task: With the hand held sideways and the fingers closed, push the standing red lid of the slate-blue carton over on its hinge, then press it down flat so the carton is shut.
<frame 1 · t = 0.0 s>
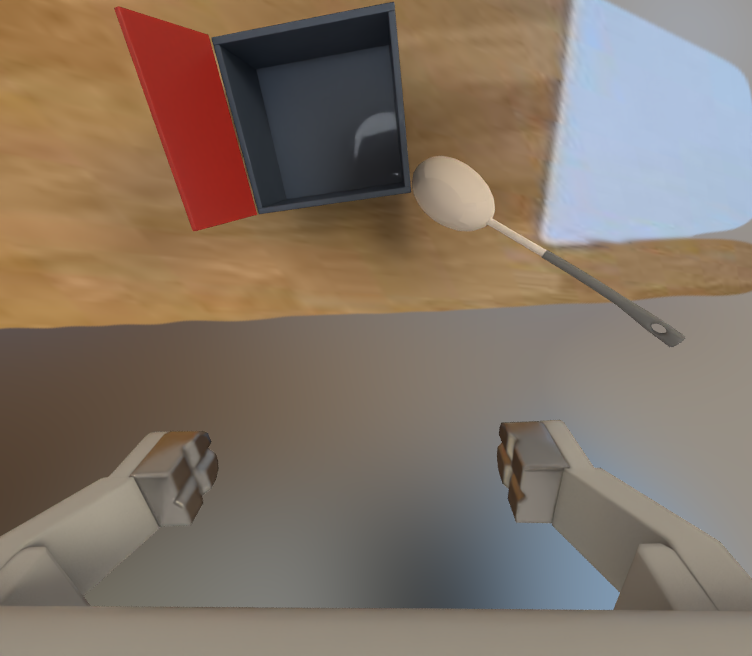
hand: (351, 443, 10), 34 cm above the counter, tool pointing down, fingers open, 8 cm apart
beige and grey spoon: (529, 258, 31), point 10 cm above the counter
lid: (200, 133, 26), point 12 cm above the counter, hinge at 110.0°
carton: (333, 129, 36), on the counter
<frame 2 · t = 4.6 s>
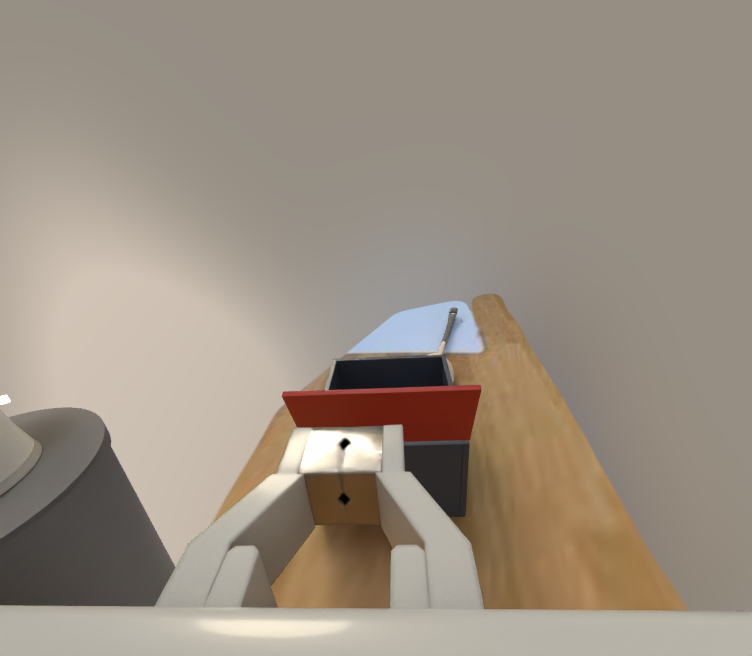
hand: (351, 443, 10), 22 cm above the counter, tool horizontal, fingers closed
beige and grey spoon: (442, 332, 56), point 3 cm above the counter
lid: (383, 417, 25), point 12 cm above the counter, hinge at 110.0°
carton: (392, 457, 38), on the counter
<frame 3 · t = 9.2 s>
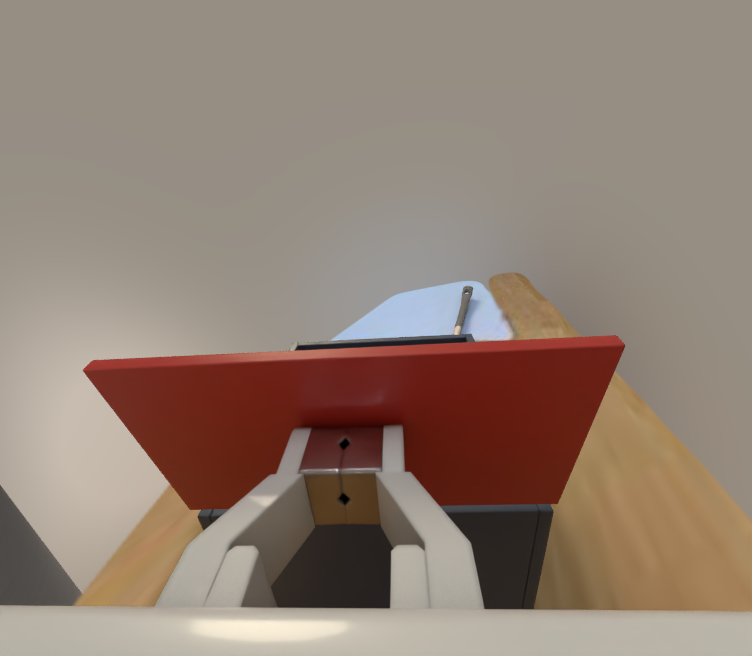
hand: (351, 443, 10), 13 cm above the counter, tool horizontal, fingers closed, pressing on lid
beige and grey spoon: (457, 312, 41), point 3 cm above the counter
lid: (356, 441, 10), point 13 cm above the counter, hinge at 100.2°, touching gripper
carton: (386, 504, 23), on the counter
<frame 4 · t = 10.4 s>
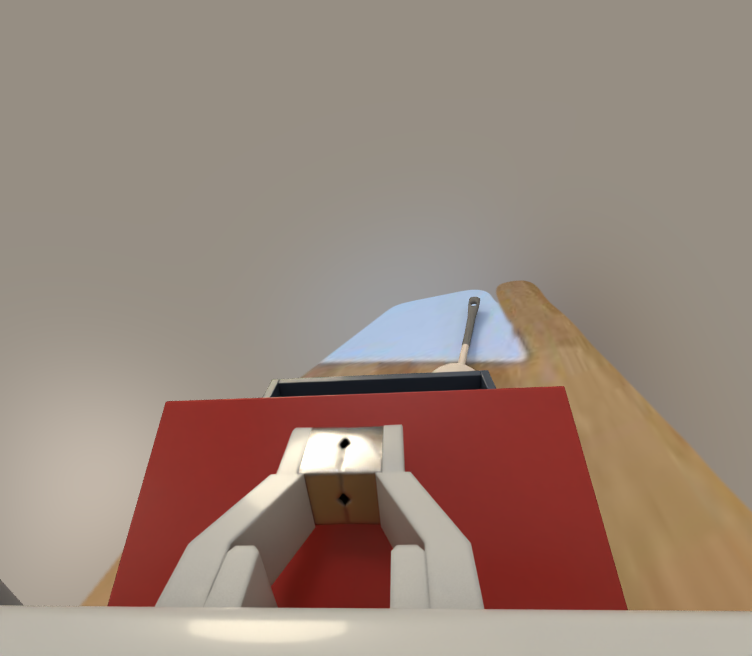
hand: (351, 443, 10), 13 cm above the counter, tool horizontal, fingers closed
beige and grey spoon: (465, 330, 37), point 3 cm above the counter
lid: (356, 514, 10), point 11 cm above the counter, hinge at 35.7°, touching gripper
carton: (384, 585, 18), on the counter
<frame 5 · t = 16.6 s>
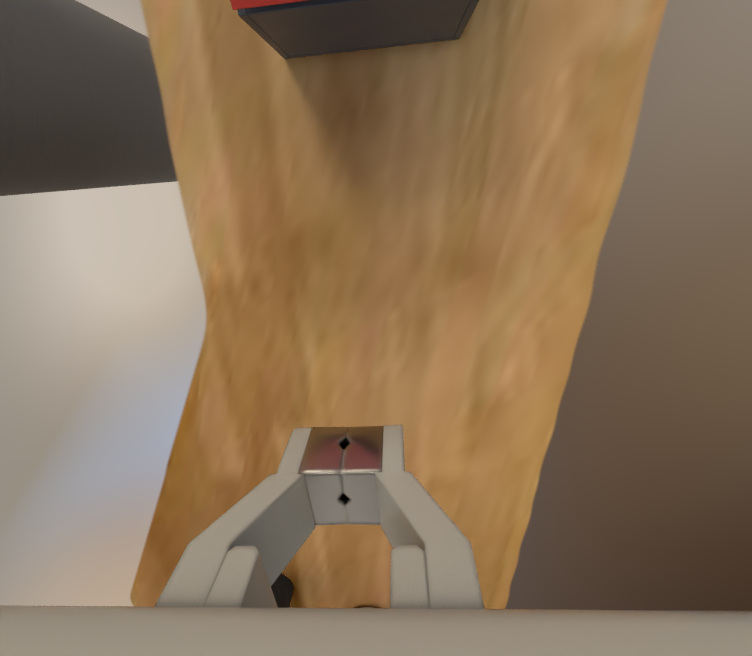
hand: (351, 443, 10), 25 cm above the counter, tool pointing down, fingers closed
travel mug: (271, 583, 56), on the counter
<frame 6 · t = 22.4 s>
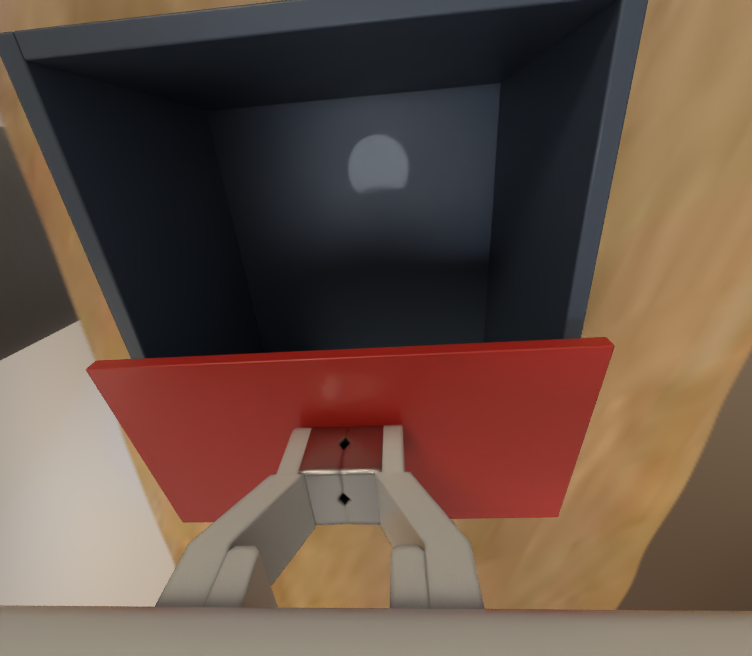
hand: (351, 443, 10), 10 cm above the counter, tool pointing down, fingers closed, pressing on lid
lid: (353, 447, 10), point 9 cm above the counter, hinge at 5.5°, touching gripper
carton: (364, 253, 17), on the counter
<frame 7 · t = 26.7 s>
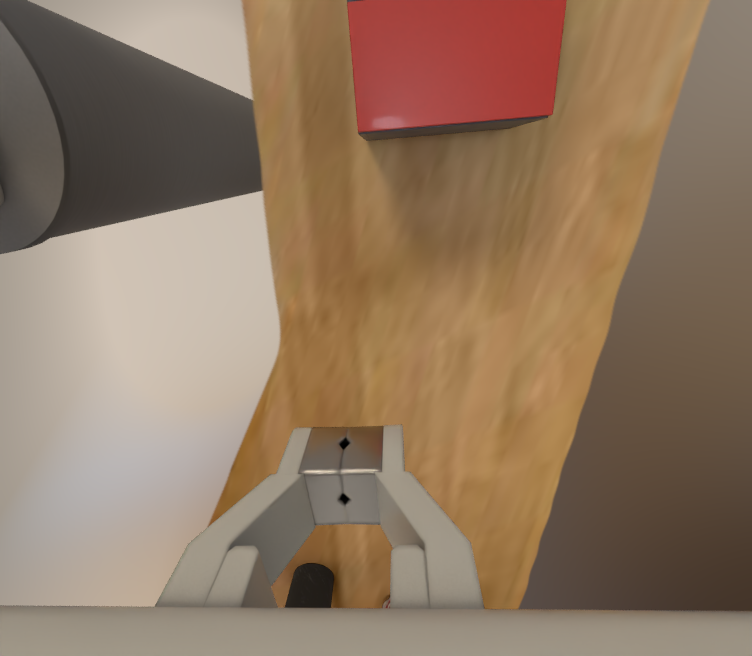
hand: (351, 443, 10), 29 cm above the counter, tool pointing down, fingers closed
travel mug: (314, 574, 62), on the counter
lid: (454, 61, 22), point 9 cm above the counter, hinge at 0.0°
carton: (437, 38, 29), on the counter
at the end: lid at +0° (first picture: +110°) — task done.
